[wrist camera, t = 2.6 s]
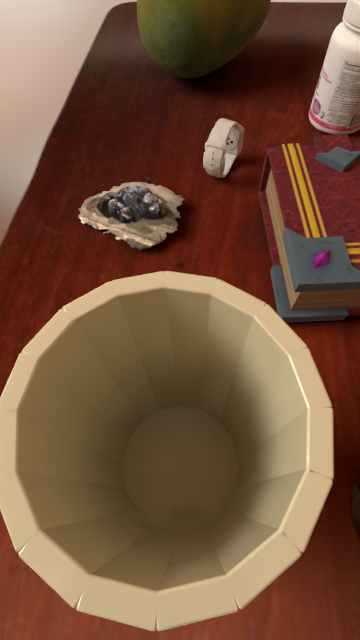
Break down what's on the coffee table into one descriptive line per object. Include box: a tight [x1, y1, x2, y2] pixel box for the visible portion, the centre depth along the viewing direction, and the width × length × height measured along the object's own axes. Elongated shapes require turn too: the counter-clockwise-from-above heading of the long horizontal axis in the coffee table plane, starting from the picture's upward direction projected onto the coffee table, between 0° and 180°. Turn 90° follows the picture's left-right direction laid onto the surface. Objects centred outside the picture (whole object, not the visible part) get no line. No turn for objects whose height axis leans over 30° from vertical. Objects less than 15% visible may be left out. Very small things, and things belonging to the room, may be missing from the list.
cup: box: [0, 271, 334, 632], centre depth 12 cm, size 7×7×12 cm
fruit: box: [137, 0, 271, 78], centre depth 30 cm, size 12×13×10 cm
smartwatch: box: [203, 118, 244, 178], centre depth 26 cm, size 4×2×4 cm, turn 153°
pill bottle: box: [309, 0, 360, 135], centre depth 26 cm, size 5×5×8 cm
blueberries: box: [78, 182, 185, 250], centre depth 25 cm, size 7×8×2 cm
